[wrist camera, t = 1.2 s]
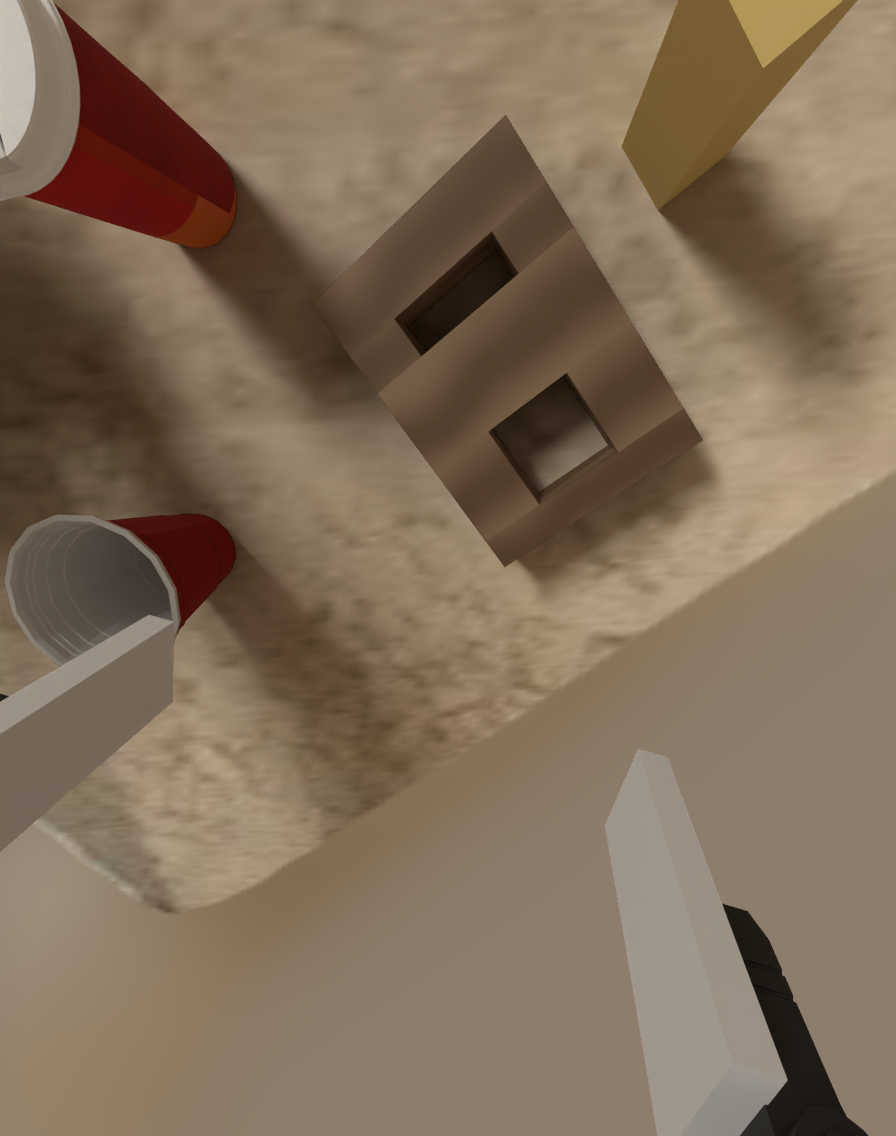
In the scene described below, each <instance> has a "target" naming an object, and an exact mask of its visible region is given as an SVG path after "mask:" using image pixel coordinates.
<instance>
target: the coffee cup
mask: <svg viewBox="0 0 896 1136" xmlns="http://www.w3.org/2000/svg"><path fill="white" fill-rule="evenodd" d="M20 196H25V197H28V198H31V199H35V200H38V201H41V202H44V203H47V204H51V205H54V206H57V207H60V208H63V209H66V210H70V211H73V212H76V213H79V214H82V215H85V216H89V217H92V218H95V219H98V220H101V221H105V222H108V223H111V224H114V225H117V226H121V227H124V228H127V229H130V230H133V231H137V232H140V233H143V234H146V235H150V236H153V237H156V238H160V239H163V240H166V241H170V242H173V243H177V244H180V245H184V246H188V247H193V248H206V247H210V246H213V245H215V244H216V243H218V242H220V241H221V240H222V239H223V238H224V237H225V236H226V235H227V233H228V232H229V230H230V228H231V226H232V224H233V222H234V219H235V215H236V208H237V195H236V188H235V183H234V180H233V177H232V175H231V172H230V170H229V168H228V166H227V165H226V163H225V162H224V160H223V159H222V158H221V156H220V155H219V154H218V153H217V152H216V151H215V150H214V149H213V148H212V147H211V146H210V145H209V144H208V143H207V142H206V141H205V140H204V139H203V138H202V137H201V136H200V135H199V134H198V133H197V132H196V131H195V130H194V129H193V128H191V127H190V126H189V125H188V124H187V123H186V122H185V121H184V120H183V119H182V118H181V117H179V116H178V115H177V114H176V113H175V112H174V111H173V110H172V109H171V108H170V107H169V106H168V105H167V104H166V103H165V102H164V101H163V100H161V99H160V98H159V97H158V96H157V95H156V94H155V93H154V92H153V91H152V90H151V89H150V88H149V87H148V86H147V85H146V84H145V83H144V82H143V81H141V80H140V79H139V78H138V77H137V76H136V75H135V74H133V73H132V72H131V71H130V70H129V69H128V68H127V67H125V66H124V65H123V64H122V63H121V62H120V61H119V60H117V59H116V58H115V57H114V56H113V55H112V54H110V53H109V52H108V51H107V50H106V49H105V48H104V47H102V46H101V45H100V44H99V43H98V42H97V41H96V40H95V39H93V38H92V37H91V36H90V35H89V34H88V33H87V32H86V31H85V30H84V29H82V28H81V27H80V26H79V25H78V24H77V23H76V22H75V21H74V20H72V19H71V18H70V17H69V16H68V15H67V14H66V13H65V12H64V11H63V10H61V9H60V8H59V7H58V6H57V5H56V4H55V3H54V2H53V0H0V201H4V200H8V199H12V198H16V197H20Z"/></svg>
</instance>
